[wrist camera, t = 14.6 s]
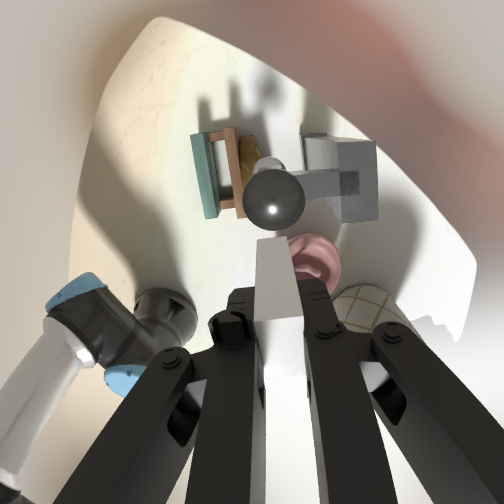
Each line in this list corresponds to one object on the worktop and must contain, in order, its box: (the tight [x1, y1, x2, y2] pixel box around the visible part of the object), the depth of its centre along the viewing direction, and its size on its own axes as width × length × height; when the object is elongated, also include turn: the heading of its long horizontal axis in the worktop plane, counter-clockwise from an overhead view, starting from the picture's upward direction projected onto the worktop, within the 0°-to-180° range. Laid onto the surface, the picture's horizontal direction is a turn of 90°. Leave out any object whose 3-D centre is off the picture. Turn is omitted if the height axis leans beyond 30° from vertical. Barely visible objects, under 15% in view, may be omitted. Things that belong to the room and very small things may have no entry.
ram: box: [242, 156, 305, 231], centre depth 29 cm, size 5×5×16 cm
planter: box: [332, 285, 426, 344], centre depth 50 cm, size 19×19×20 cm
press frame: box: [259, 133, 378, 223], centre depth 36 cm, size 12×9×24 cm
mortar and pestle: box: [288, 233, 342, 294], centre depth 48 cm, size 12×12×11 cm
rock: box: [240, 135, 262, 190], centre depth 44 cm, size 11×9×10 cm
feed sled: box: [190, 127, 247, 219], centre depth 44 cm, size 7×14×8 cm, turn 8°
